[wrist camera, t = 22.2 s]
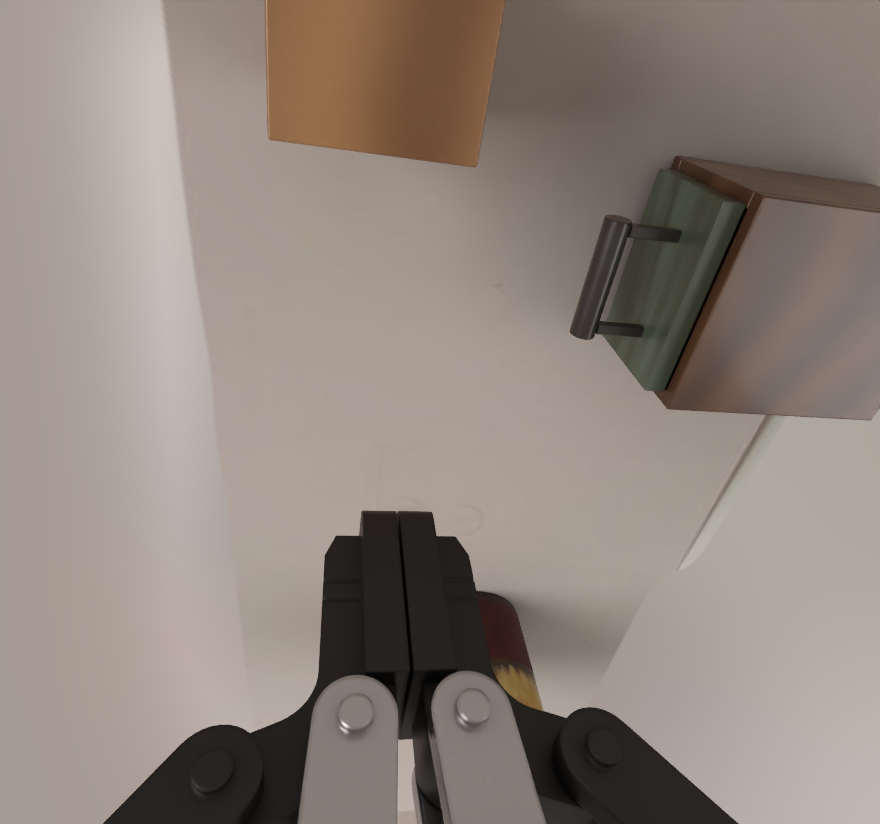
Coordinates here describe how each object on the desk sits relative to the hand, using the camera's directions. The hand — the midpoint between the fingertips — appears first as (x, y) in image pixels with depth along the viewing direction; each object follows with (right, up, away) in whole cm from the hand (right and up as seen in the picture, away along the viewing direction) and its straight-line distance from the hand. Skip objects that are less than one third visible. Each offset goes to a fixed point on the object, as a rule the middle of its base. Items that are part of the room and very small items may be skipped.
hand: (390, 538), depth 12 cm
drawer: (+17, +12, +23) cm, 30 cm away
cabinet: (+20, +12, +24) cm, 34 cm away
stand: (-2, +21, +14) cm, 26 cm away
